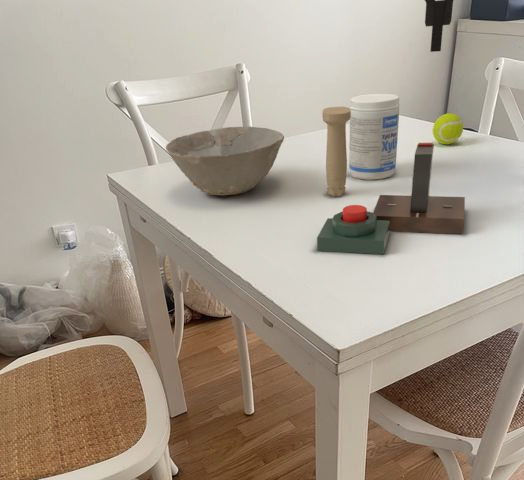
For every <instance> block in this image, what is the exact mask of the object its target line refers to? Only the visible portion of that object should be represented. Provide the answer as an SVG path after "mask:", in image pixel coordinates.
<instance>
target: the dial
mask: <svg viewBox="0 0 524 480" xmlns="http://www.w3.org/2000/svg"><path fill="white" fill-rule="evenodd" d="M434 148H435V144H434V142H418V143H417V145H416V148H415V152H414V159H413V171H412V182H411V183H412V185H411V195H410V196H411V207H410V212H426V211H427V205H428V199H429V196H430V188H431V178H432V167H433V157H434Z"/></svg>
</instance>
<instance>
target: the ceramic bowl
mask: <svg viewBox="0 0 524 480" xmlns="http://www.w3.org/2000/svg"><path fill="white" fill-rule="evenodd" d="M284 139H285V135H284V134H283V133H282V132H280V131H278V130H275V129H271V128H266V127H258V126H229V127H228V126H227V127H220V128H216V129H215V128H214V129H209V130H201V131H197V132H195V133H190V134H186V135H182V136H178V137H176V138H174V139H172V140H171V141H170V142H168V143H166V145H165V150H166V152H167V153H168V155H169V156H170V158H171V159H172V160H173V162H174V164H175V165H176V166H177V167H178V169H179V170H180V171H181V173H183V174H184V176H185V177H186V178H187V179H188V181H190V183H192V185H193V186H194V187H196V188H197V189H199V190H200V191H201V192H202V193H204V194H207V195H213V196H232V195H234V196H235V195H239V194H244V193H246V192H249V191H251V190H253V188H255V187H256V186H257V185H258V184H259V183H260V182H261V181H262V180H263V179H264V178H265V177H266V176H268V174H269V172H270V171H271V170H272V168H273V166H274V163H275V161H276V158H277V156H278V154H279V151H280V148H281V146H282V144H283V142H284Z"/></svg>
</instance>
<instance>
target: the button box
mask: <svg viewBox="0 0 524 480" xmlns="http://www.w3.org/2000/svg"><path fill="white" fill-rule="evenodd" d="M390 233H391V231H390V221H386V220H377V216H376V215H375V214H373V211H372V212H371V211H368V210H367V219H366V221H364V222H358V223H348V222H345V221H343V210H342V211H340V212H338V213H336V214H334V215H333V217H331V218H330V217H328V218H327V219H326V221H325V222H324V224H323V226H322V228H321V229H320V231H319V234H318V235H317V237H316V250H317V252H334V253H335V252H336V253H353V254H373V255H384V254H385V250H386V246H387V242H388V240H389V237H390Z"/></svg>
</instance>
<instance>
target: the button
mask: <svg viewBox="0 0 524 480" xmlns="http://www.w3.org/2000/svg"><path fill="white" fill-rule="evenodd" d="M342 211H343V221H345V222H348V223H358V222H364V221H366V219H367V211H368V209H367V207H366V206H365V205H362V204H361V205H360V204H351V205H350V204H349V205H347V206H344V207H343V208H342Z"/></svg>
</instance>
